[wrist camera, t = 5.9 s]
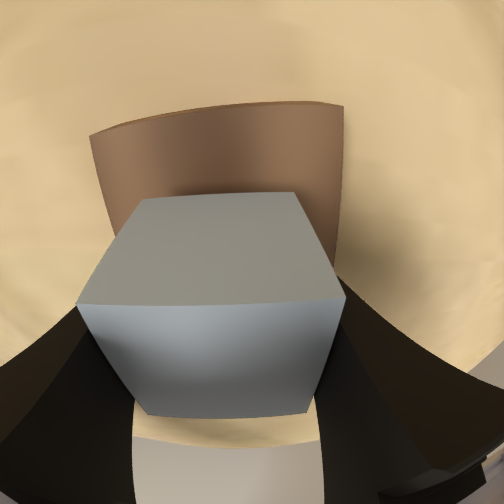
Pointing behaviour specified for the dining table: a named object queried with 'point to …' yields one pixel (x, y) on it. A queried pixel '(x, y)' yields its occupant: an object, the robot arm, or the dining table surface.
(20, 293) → the dining table surface
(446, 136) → the dining table surface
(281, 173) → the walnut block
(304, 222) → the gray cube
